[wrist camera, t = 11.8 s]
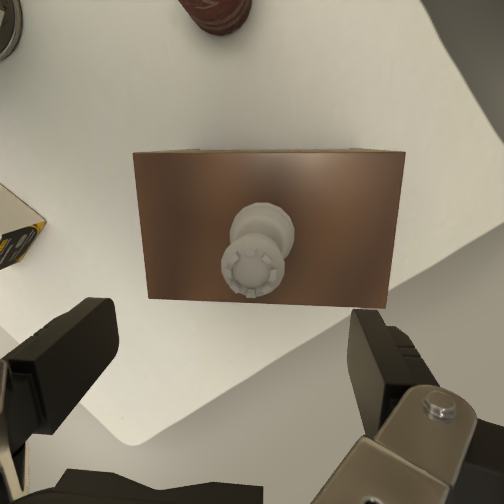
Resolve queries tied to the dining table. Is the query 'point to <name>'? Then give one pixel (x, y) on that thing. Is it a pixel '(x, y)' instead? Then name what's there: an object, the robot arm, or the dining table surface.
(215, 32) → the can
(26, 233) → the medicine bottle
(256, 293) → the rook chess piece
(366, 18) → the dining table surface
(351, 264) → the shelf
